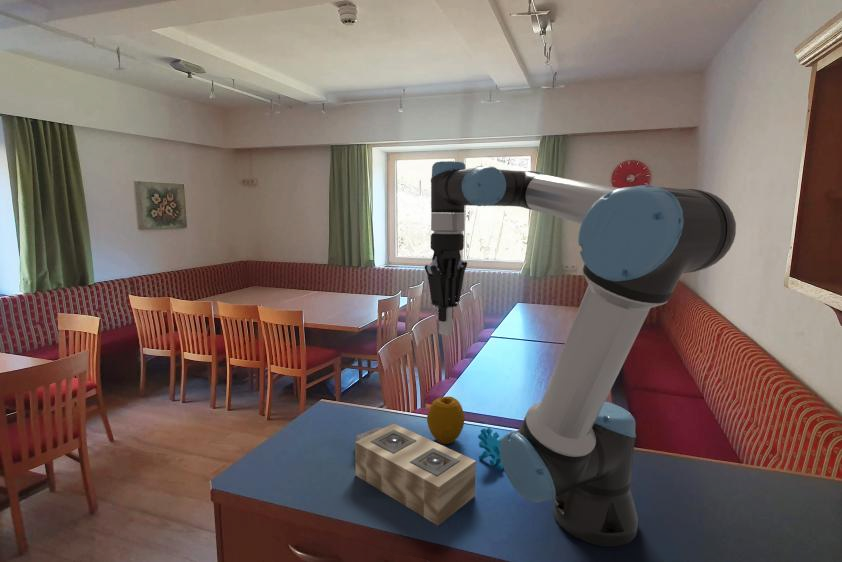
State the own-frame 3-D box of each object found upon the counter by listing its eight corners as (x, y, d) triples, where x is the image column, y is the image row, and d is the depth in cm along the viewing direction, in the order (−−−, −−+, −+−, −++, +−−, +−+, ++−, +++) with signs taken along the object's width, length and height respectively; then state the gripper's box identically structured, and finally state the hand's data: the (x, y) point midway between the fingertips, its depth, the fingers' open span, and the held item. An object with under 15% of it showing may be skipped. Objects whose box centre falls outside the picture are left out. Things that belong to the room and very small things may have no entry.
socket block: (474, 496, 93) (476, 460, 92) (438, 525, 84) (438, 486, 83) (393, 454, 109) (393, 422, 107) (355, 475, 100) (355, 441, 99)
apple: (445, 427, 123) (446, 386, 121) (472, 440, 115) (473, 397, 114) (419, 439, 116) (419, 396, 114) (445, 454, 109) (446, 409, 107)
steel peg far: (404, 470, 100) (405, 439, 99) (393, 477, 98) (393, 445, 97) (393, 464, 103) (393, 434, 102) (382, 471, 100) (382, 439, 99)
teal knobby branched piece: (501, 473, 98) (475, 432, 102) (482, 485, 101) (458, 444, 105) (520, 457, 107) (496, 421, 111) (502, 469, 110) (480, 432, 114)
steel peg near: (446, 493, 92) (447, 459, 91) (435, 501, 90) (436, 466, 89) (433, 485, 95) (433, 453, 94) (422, 493, 92) (422, 460, 91)
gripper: (451, 231, 108) (450, 326, 111) (415, 232, 98) (414, 336, 102) (477, 232, 103) (474, 331, 106) (441, 234, 93) (440, 343, 97)
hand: (445, 333), depth 104 cm, fingers closed
